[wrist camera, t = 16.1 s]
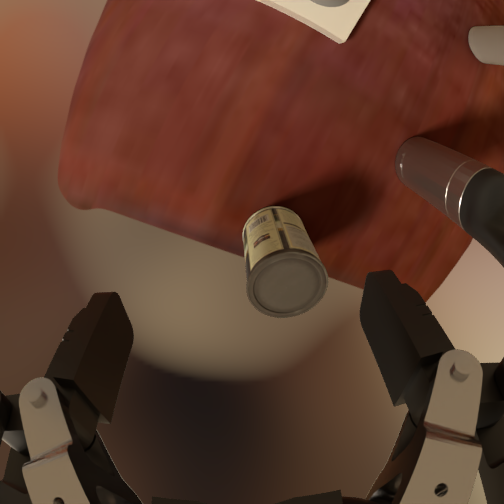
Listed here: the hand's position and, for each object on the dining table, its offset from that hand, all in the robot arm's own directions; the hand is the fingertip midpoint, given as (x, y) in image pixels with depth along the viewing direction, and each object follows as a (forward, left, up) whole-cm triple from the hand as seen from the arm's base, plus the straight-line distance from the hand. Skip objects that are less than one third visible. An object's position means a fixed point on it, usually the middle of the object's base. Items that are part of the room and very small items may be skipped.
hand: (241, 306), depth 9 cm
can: (-45, -20, -36) cm, 61 cm away
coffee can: (-5, +17, -36) cm, 40 cm away
